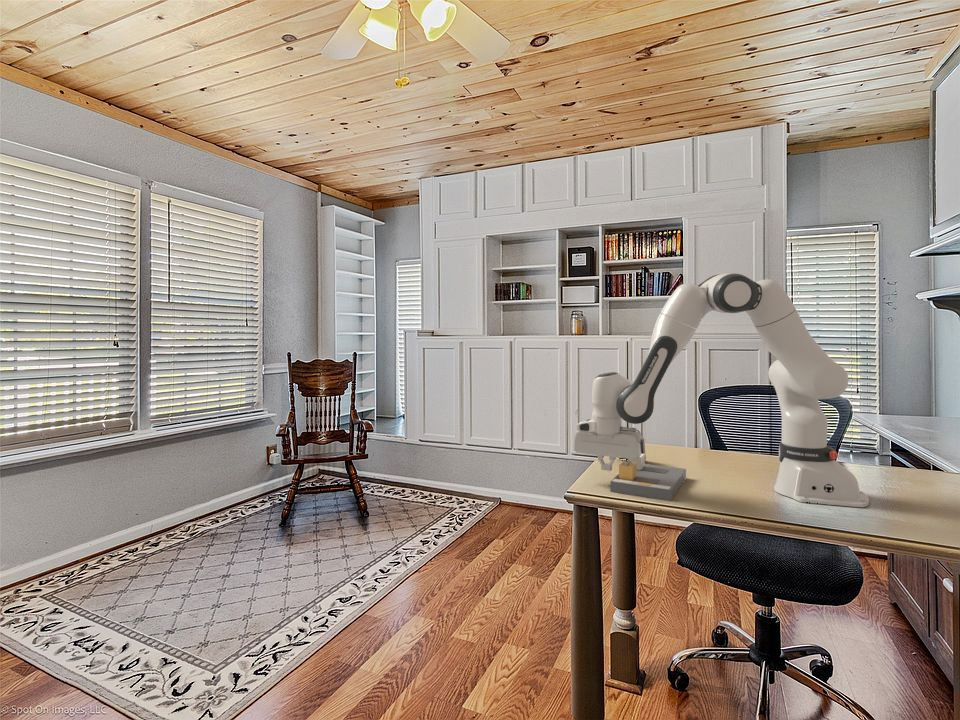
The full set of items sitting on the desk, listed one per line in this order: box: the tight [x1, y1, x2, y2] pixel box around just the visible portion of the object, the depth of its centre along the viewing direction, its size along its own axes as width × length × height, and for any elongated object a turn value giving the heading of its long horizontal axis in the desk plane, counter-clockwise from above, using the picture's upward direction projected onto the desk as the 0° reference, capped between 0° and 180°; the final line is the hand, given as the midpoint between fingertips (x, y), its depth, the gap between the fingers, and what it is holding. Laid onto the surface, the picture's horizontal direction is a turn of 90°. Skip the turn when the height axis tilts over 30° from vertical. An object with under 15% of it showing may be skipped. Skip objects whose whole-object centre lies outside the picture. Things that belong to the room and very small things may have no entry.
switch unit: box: [609, 463, 687, 502], centre depth 161 cm, size 17×24×3 cm
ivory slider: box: [627, 453, 646, 470], centre depth 168 cm, size 4×5×5 cm
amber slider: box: [618, 461, 637, 480], centre depth 158 cm, size 4×5×5 cm
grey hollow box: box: [618, 436, 647, 461], centre depth 187 cm, size 9×5×9 cm, turn 57°
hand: (606, 470), depth 161 cm, fingers closed
